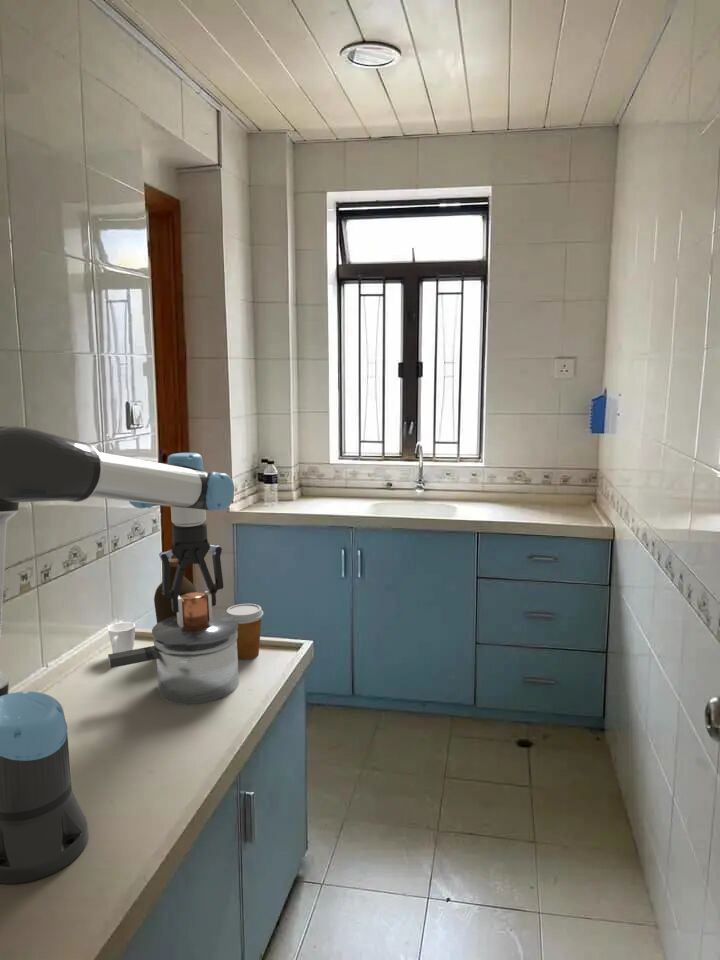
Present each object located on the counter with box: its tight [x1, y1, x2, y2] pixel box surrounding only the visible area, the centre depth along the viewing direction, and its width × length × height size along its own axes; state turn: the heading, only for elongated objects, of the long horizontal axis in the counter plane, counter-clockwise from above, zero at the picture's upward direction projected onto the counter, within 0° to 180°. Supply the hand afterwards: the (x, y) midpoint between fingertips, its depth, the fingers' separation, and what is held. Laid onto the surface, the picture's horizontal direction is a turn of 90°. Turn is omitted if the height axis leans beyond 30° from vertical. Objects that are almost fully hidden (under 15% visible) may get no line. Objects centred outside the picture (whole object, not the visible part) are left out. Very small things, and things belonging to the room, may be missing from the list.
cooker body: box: [107, 631, 240, 705], centre depth 160 cm, size 28×19×12 cm, turn 116°
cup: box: [107, 621, 136, 654], centre depth 179 cm, size 7×10×8 cm
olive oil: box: [153, 558, 198, 624], centre depth 179 cm, size 11×11×25 cm
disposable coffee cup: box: [225, 603, 264, 660], centre depth 180 cm, size 10×10×12 cm
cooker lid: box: [151, 591, 238, 647], centre depth 160 cm, size 19×19×8 cm
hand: (195, 622), depth 161 cm, fingers closed on cooker lid, 6 cm apart
